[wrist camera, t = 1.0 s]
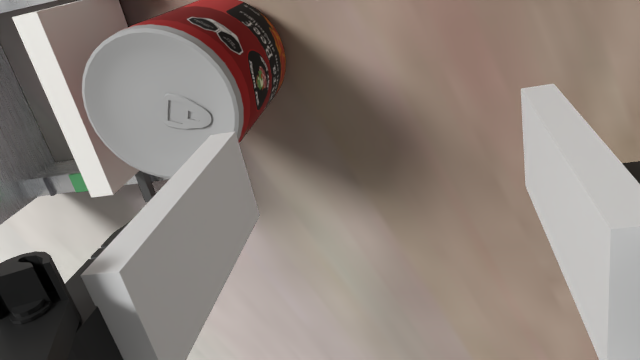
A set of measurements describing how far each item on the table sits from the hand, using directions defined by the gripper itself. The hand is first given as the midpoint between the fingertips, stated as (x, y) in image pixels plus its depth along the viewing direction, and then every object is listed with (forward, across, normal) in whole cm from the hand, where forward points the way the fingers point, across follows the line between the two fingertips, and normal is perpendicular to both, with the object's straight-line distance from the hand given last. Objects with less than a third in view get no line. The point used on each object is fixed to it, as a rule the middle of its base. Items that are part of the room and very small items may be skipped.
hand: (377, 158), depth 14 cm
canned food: (+20, -11, 0) cm, 23 cm away
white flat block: (+20, -18, -1) cm, 27 cm away
